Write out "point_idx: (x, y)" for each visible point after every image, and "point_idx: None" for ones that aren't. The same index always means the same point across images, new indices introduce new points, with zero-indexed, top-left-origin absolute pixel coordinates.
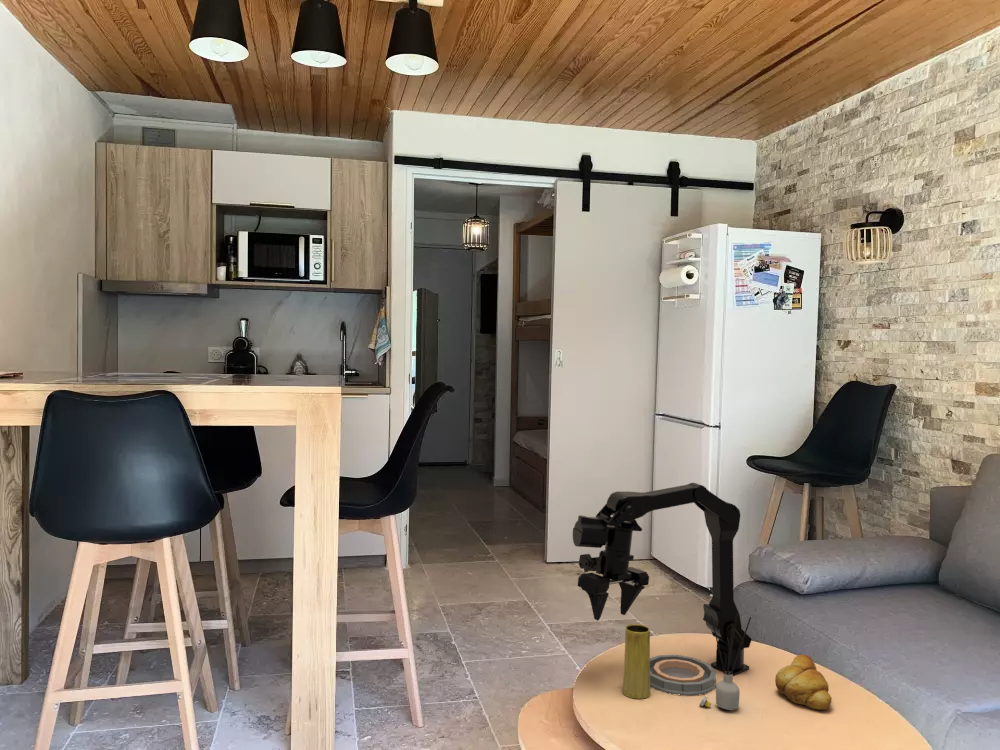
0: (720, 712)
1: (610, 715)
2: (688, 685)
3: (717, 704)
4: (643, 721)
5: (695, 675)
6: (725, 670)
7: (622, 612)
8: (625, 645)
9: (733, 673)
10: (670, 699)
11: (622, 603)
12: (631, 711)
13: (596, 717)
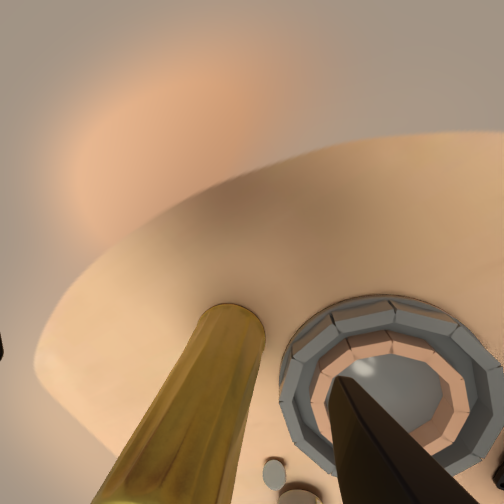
0: (273, 491)
1: (102, 336)
2: (304, 450)
3: (282, 496)
4: (132, 394)
5: (412, 423)
6: (502, 470)
7: (334, 404)
8: (148, 414)
9: (496, 485)
10: (256, 404)
11: (376, 484)
12: (148, 361)
13: (73, 318)
